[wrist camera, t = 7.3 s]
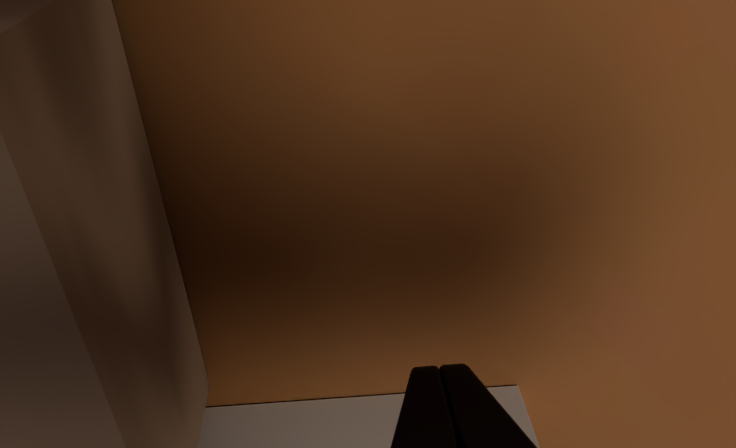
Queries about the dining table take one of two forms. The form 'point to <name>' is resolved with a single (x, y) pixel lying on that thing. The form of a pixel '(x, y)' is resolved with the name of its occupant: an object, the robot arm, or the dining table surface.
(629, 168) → the dining table surface
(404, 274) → the dining table surface
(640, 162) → the dining table surface
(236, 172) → the dining table surface
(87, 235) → the carriage
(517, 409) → the bay
